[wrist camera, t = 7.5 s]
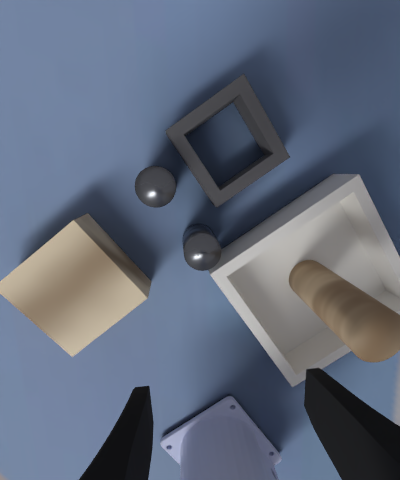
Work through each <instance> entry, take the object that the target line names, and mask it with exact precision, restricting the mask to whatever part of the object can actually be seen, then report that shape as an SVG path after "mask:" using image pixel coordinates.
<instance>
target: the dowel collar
mask: <svg viewBox="0 0 400 480" xmlns="http://www.w3.org/2000/svg"><path fill="white" fill-rule="evenodd" d="M232 102H234V104H235V106H236V108H237V109H238V111H239V113H240V114H241V116H242V118H243V120H244V121H245V123H246V125H247V127H248V128H249V130H250V132H251V133H252V135H253V137H254V139H255V140H256V142H257V144H258V146H259V147H260V149H261V151H262V152H263V154H264V156H262V157H261V158H260V159H258V160H257V161H255V162H254V163H252V164H251V165H249V166H248V167H247V168H245V169H244V170H242V171H241V172H239V173H238V174H237V175H235V176H234V177H232V178H231V179H229V180H228V181H227V182H225V183H224V184H222V185H221V186H219V187H217V185H216V184H215V182H214V180H213V179H212V177H211V176H210V174H209V173H208V171H207V170H206V168H205V167H204V165H203V164H202V162H201V161H200V159H199V157H198V156H197V154H196V153H195V151H194V150H193V148H192V147H191V145H190V144H189V142H188V141H187V139H186V137H185V136H187V135H188V134H189V133H191V132H192V131H193V130H195V129H196V128H198V127H199V126H200V125H202V124H203V123H205V122H206V121H207V120H209V119H210V118H212V117H213V116H214V115H216V114H217V113H218V112H220V111H221V110H223V109H224V108H225V107H227V106H228V105H230V104H231V103H232ZM166 135H167V136H168V138H169V139H170V141H171V142H172V144H173V145H174V147H175V148H176V150H177V151H178V153H179V154H180V156H181V157H182V159H183V160H184V162H185V163H186V165H187V166H188V168H189V169H190V171H191V172H192V174H193V175H194V177H195V178H196V180H197V181H198V183H199V184H200V186H201V187H202V189H203V190H204V192H205V193H206V195H207V196H208V198H209V199H210V201H211V202H212V204H213V205H214V206H216V207H219V206H220V205H221V204H223V203H224V202H226V201H227V200H229V199H230V198H232V197H233V196H234V195H236V194H237V193H239V192H240V191H242V190H243V189H245V188H246V187H247V186H249V185H250V184H252V183H253V182H255V181H256V180H258V179H259V178H260V177H262V176H263V175H265V174H266V173H268V172H269V171H271V170H272V169H274V168H275V167H276V166H278V165H279V164H281V163H282V162H284V161H285V160H287V159H288V158H289V157H290V156H289V154H288V152H287V151H286V149H285V147H284V145H283V143H282V141H281V140H280V138H279V136H278V134H277V132H276V131H275V129H274V127H273V125H272V123H271V122H270V120H269V118H268V116H267V114H266V113H265V111H264V109H263V107H262V105H261V104H260V102H259V100H258V98H257V96H256V95H255V93H254V91H253V89H252V87H251V85H250V84H249V82H248V80H247V78H246V76H245V75H244V74H243V75H241V76H240V77H239V78H237V79H236V80H235V81H233V82H232V83H230V84H229V85H228V86H226V87H225V88H224V89H222V90H221V91H219V92H218V93H217V94H215V95H214V96H213V97H211V98H210V99H208V100H207V101H206V102H204V103H203V104H201V105H200V106H199V107H197V108H196V109H195V110H193V111H192V112H190V113H189V114H188V115H186V116H185V117H184V118H182V119H181V120H179V121H178V122H177V123H175V124H174V125H173V126H171V127H170V128H168V129H167V130H166Z"/></svg>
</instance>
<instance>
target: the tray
mask: <svg viewBox="0 0 400 480" xmlns="http://www.w3.org/2000/svg"><path fill="white" fill-rule="evenodd" d="M305 260H314V261H317V262H319V263H320V264H322V265H323V266H325V267H326V268H328V269H330V270H331V271H333V272H334V273H336V274H337V275H339V276H340V277H342V278H343V279H345V280H347V281H348V282H350V283H351V284H353V285H354V286H356V287H357V288H359V289H361V290H362V291H364V292H365V293H367V294H368V295H370V296H371V297H373V298H374V299H376V300H378V301H379V302H381V303H382V304H384V305H385V306H387V307H388V308H390V309H391V310H393V311H395V312H396V313H398V314H399V315H400V257H399V255H398V253H397V251H396V248H395V246H394V244H393V242H392V240H391V238H390V236H389V234H388V232H387V230H386V228H385V226H384V224H383V222H382V220H381V218H380V216H379V214H378V212H377V210H376V208H375V206H374V204H373V201H372V199H371V197H370V195H369V193H368V191H367V189H366V187H365V185H364V183H363V181H362V179H361V177H360V175H359V174H332V175H331V176H329V177H328V178H326V179H325V180H323V181H322V182H320V183H319V184H317V185H316V186H314V187H313V188H311V189H310V190H309V191H307V192H306V193H304V194H303V195H301V196H300V197H298V198H297V199H295V200H294V201H292V202H291V203H289V204H288V205H286V206H285V207H283V208H282V209H280V210H279V211H278V212H276V213H275V214H273V215H272V216H270V217H269V218H267V219H266V220H264V221H263V222H261V223H260V224H258V225H257V226H255V227H254V228H252V229H251V230H249V231H248V232H247V233H245V234H244V235H242V236H241V237H239V238H238V239H236V240H235V241H233V242H232V243H230V244H229V245H227V246H226V247H224V248H223V249H221V258H220V260H219V262H218V263H217V264H216V265H215V266H214V267H213V268H211V269H209V273H210V275H211V276H212V278H213V279H214V281H215V282H216V283H217V285H218V286H219V287H220V289H221V290H222V292H223V293H224V294H225V296H226V297H227V298H228V300H229V301H230V303H231V304H232V305H233V307H234V308H235V309H236V311H237V312H238V313H239V315H240V316H241V318H242V319H243V320H244V322H245V323H246V324H247V326H248V327H249V329H250V330H251V331H252V333H253V334H254V335H255V337H256V338H257V340H258V341H259V342H260V344H261V345H262V346H263V348H264V349H265V351H266V352H267V353H268V355H269V356H270V357H271V359H272V360H273V361H274V363H275V364H276V366H277V367H278V368H279V370H280V371H281V372H282V374H283V375H284V377H285V378H286V379H287V381H288V382H289V383H290V385H291V386H292V387H294V386H296V385H297V384H299V383H300V382H302V381H304V380H305V379H306V369H312V368H320V369H323V368H324V367H326V366H328V365H329V364H331V363H333V362H334V361H336V360H337V359H339V358H341V357H342V356H344V355H345V354H347V353H349V352H350V351H351V350H350V349H349V348H348V347H347V345H346V344H345V343H344V342H343V341H342V340H341V339H340V338H339V337H338V336H337V335H336V334H335V333H334V332H333V331H332V330H331V329H330V328H329V327H328V326H327V325H326V324H325V323H324V322H323V321H322V320H321V319H320V318H319V317H318V316H317V315H316V314H315V313H314V312H313V311H312V310H311V309H310V307H309V306H308V305H307V304H306V303H305V302H304V301H303V300H302V299H301V298H300V297H299V296H298V295H297V294H296V293H295V292H294V291H293V290H292V289H291V287H290V285H289V275H290V272H291V270H292V269H293V268H294V266H295V265H297V264H298V263H300V262H302V261H305Z"/></svg>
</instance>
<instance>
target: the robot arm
mask: <svg viewBox="0 0 400 480" xmlns="http://www.w3.org/2000/svg"><path fill="white" fill-rule="evenodd" d="M231 405H234V406H231ZM304 406H305V409H306V411H307V414H308V416H309V418H310V421H311V423H312V425H313V428H314V430H315V432H316V434H317V435H318V437H319V439H320V441H321V443H322V445H323V446H324V448H325V450H326V452H327V454H328V455H329V457H330V459H331V461H332V462H333V464H334V466H335V468H336V470H337V471H338V473H339V475H340V477H341V479H342V480H400V426H398V425H397V424H395V423H393V422H392V421H390V420H389V419H387V418H386V417H384V416H383V415H381V414H380V413H379V412H377V411H376V410H374V409H373V408H371V407H370V406H369V405H367V404H366V403H364V402H363V401H362V400H360V399H359V398H358V397H356V396H355V395H354V394H352V393H351V392H350V391H348V390H347V389H346V388H344V387H343V386H342V385H341V384H339V383H338V382H337V381H336V380H334V379H333V378H332V377H330V376H329V375H328V374H327V373H325V372H324V371H323V370H321V369H320V368H312V369H306V382H305V400H304ZM152 444H153V415H152V406H151V397H150V389H149V386H143V387H135V388H134V389H133V391H132V393H131V396H130V398H129V400H128V402H127V404H126V406H125V408H124V410H123V412H122V413H121V415H120V417H119V419H118V421H117V422H116V424H115V426H114V428H113V430H112V431H111V433H110V435H109V436H108V438H107V439H106V441H105V443H104V444H103V446H102V447H101V449H100V450H99V452H98V454H97V455H96V457H95V458H94V459H93V461H92V462H91V464H90V465H89V467H88V468H87V469H86V471H85V472H84V474H83V475H82V476H81V478H80V479H79V480H148V476H149V469H150V462H151V455H152ZM160 444H161V446H162V447H163V448H164V449H165V450H166V451H167V452H168V453H169V454H170V455H171V456H172V457H173V458H174V459H175V460H176V461H177V462H178V463H179V464H180V479H181V480H279V479H278V476H277V473H276V470H275V467H274V465H276V464H278V463H279V462H280V461H281V459H282V458H281V455H280V453H279V452H278V451H277V450H276V448H275V447H274V446H273V445H272V444H271V442H270V441H269V440H268V439H267V438H266V436H265V435H264V434H263V433H262V431H261V430H260V429H259V428H258V427H257V425H256V424H255V423H254V422H253V421H252V419H251V418H250V417H249V416H248V414H247V413H246V412H245V411H244V410H243V408H242V407H241V406H240V405H239V403H238V402H237V401H236V400H235V399H234V398H233V397H232V396H228V397H226V398H224V399H222V400H221V401H219V402H218V403H216V404H214V405H213V406H211V407H210V408H208V409H207V410H205V411H203V412H202V413H200V414H199V415H197V416H195V417H194V418H192V419H191V420H189V421H188V422H186V423H184V424H183V425H181V426H180V427H178V428H176V429H175V430H173V431H172V432H170V433H169V434H167V435H165V436H164V437H162V438H161V443H160Z"/></svg>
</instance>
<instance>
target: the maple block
mask: <svg viewBox="0 0 400 480" xmlns="http://www.w3.org/2000/svg"><path fill="white" fill-rule="evenodd" d="M150 286H151V281H150V280H149V279H148V277H147V276H146V275H145V274H144V273H143V272H142V271H141V270H140V269H139V268H138V267H137V266H136V265H135V263H134V262H133V261H132V260H131V259H130V258H129V257H128V256H127V255H126V254H125V253H124V252H123V251H122V249H121V248H120V247H119V246H118V245H117V244H116V243H115V242H114V241H113V240H112V239H111V238H110V237H109V235H108V234H107V233H106V232H105V231H104V230H103V229H102V228H101V227H100V226H99V225H98V224H97V223H96V221H95V220H94V219H93V218H92V217H91V216H90V215H89V214H88V213H87V214H85V215H83V216H81V217H79V218H77V219H75V220H73V221H72V222H71V223H69V224H68V225H67V226H66V227H65V228H63V229H62V230H61V231H60V232H59V233H57V234H56V235H55V236H54V237H53V238H52V239H50V240H49V241H48V242H47V243H46V244H44V245H43V246H42V247H41V248H40V249H38V250H37V251H36V252H35V253H34V254H32V255H31V256H30V257H29V258H28V259H27V260H25V261H24V262H23V263H22V264H21V265H19V266H18V267H17V268H16V269H15V270H13V271H12V272H11V273H10V274H9V275H7V276H6V277H5V278H4V279H3V280H1V281H0V294H1V295H3V296H4V297H5V298H6V299H7V300H8V301H9V302H10V303H12V304H13V305H14V306H15V307H16V308H17V309H18V310H20V311H21V312H22V313H23V314H24V315H25V316H26V317H28V318H29V319H30V320H31V321H32V322H33V323H34V324H35V325H37V326H38V327H39V328H40V329H41V330H42V331H43V332H45V333H46V334H47V335H48V336H49V337H50V338H51V339H52V340H54V341H55V342H56V343H57V344H58V345H59V346H60V347H62V348H63V349H64V350H65V351H66V352H67V353H68V354H69V355H71V356H72V357H73V356H74V355H75V354H77V353H78V352H79V351H81V350H82V349H83V348H84V347H86V346H87V345H88V344H90V343H91V342H92V341H93V340H95V339H96V338H97V337H99V336H100V335H101V334H102V333H104V332H105V331H106V330H107V329H109V328H110V327H111V326H113V325H114V324H115V323H116V322H118V321H119V320H120V319H122V318H123V317H124V316H125V315H127V314H128V313H129V312H131V311H132V310H133V309H134V308H136V307H137V306H138V305H140V304H141V303H142V302H143V301H145V300H146V299H147V298H148V295H149V290H150Z"/></svg>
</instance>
